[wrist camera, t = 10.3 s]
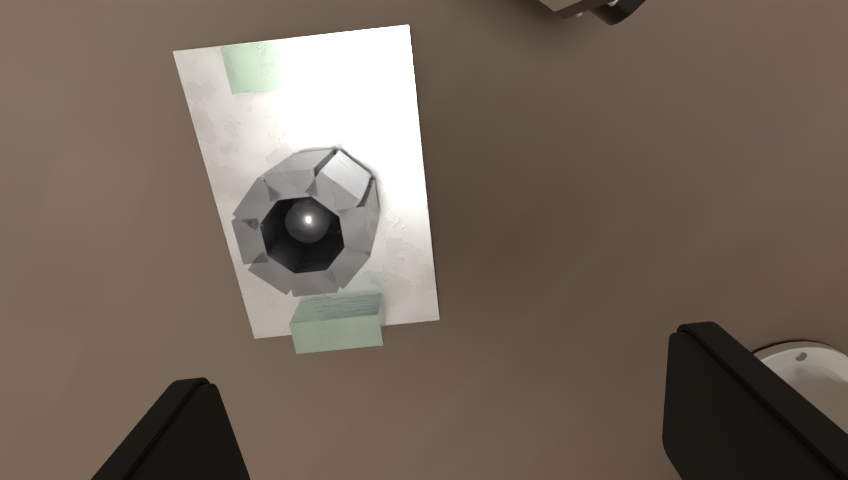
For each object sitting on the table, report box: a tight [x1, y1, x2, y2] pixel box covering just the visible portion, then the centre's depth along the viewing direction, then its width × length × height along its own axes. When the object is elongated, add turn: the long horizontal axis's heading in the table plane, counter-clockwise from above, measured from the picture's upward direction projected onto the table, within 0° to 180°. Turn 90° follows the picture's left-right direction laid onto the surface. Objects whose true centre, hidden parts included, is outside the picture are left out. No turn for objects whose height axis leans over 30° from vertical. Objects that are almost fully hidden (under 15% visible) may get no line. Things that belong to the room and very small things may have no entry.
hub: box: [231, 149, 380, 297], centre depth 26 cm, size 7×7×6 cm
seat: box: [173, 25, 439, 354], centre depth 28 cm, size 20×14×6 cm
